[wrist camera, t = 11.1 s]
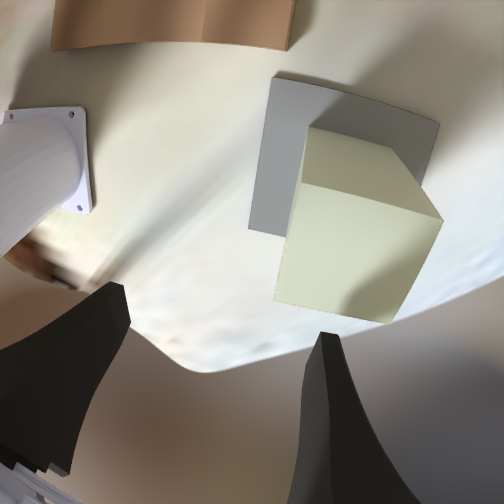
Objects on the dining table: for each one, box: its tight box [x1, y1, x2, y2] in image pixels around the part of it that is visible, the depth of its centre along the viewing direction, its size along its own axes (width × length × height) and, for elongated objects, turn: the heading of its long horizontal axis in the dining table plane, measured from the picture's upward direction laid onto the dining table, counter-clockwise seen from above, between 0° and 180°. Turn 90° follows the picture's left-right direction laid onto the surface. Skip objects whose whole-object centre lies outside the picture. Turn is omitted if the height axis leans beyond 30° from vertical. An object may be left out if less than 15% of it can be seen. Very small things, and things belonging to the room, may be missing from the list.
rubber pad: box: [248, 77, 440, 237], centre depth 16 cm, size 9×9×1 cm
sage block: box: [273, 126, 444, 324], centre depth 13 cm, size 4×4×8 cm
